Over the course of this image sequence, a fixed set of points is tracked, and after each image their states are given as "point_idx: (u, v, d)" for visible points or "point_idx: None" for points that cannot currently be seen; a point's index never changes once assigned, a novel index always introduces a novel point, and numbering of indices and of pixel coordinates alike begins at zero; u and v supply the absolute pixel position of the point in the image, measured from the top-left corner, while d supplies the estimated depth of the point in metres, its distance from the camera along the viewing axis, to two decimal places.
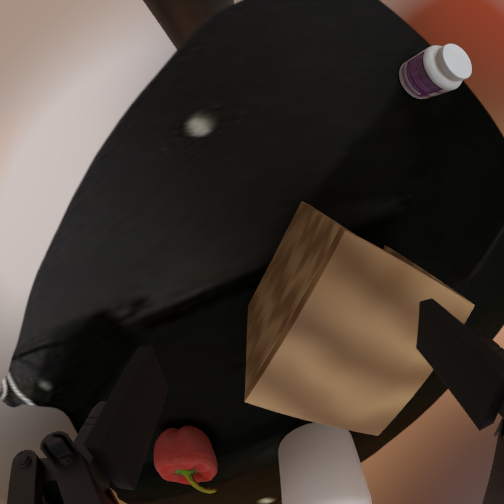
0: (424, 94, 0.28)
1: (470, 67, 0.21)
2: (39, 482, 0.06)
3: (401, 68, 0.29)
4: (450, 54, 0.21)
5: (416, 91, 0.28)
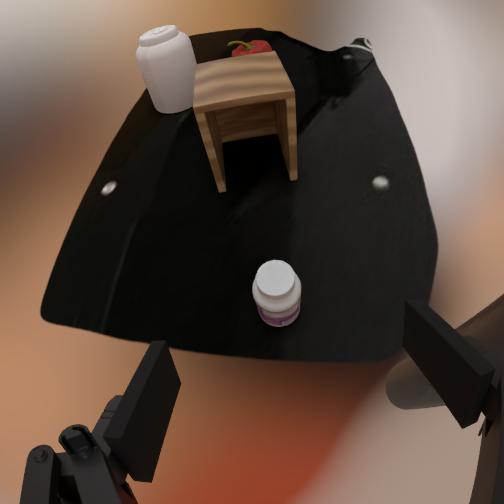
0: None
1: (259, 284, 0.31)
2: (55, 478, 0.06)
3: None
4: (285, 275, 0.31)
5: None
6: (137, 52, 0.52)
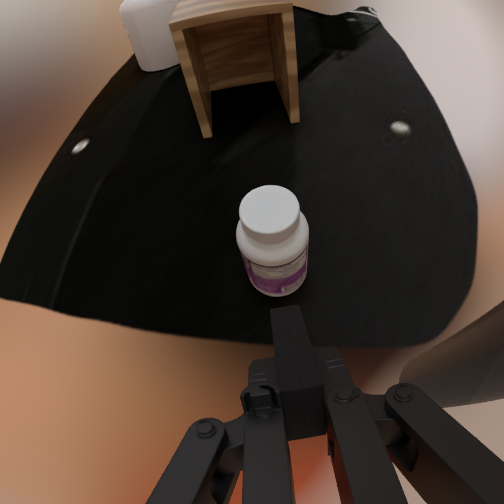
0: None
1: (244, 217, 0.20)
2: (216, 460, 0.07)
3: None
4: (285, 204, 0.20)
5: None
6: (121, 6, 0.41)
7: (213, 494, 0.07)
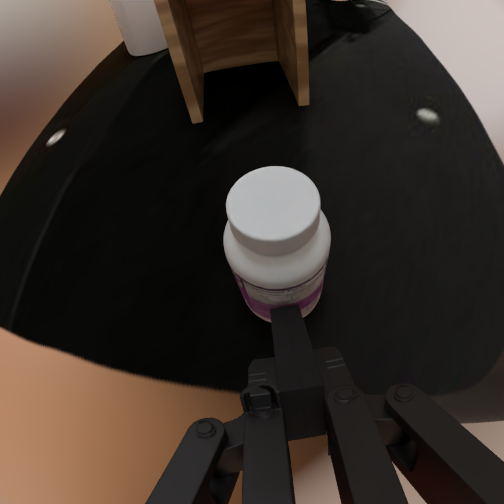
0: None
1: (233, 213, 0.13)
2: (216, 460, 0.07)
3: None
4: (297, 194, 0.13)
5: None
6: None
7: (213, 494, 0.07)
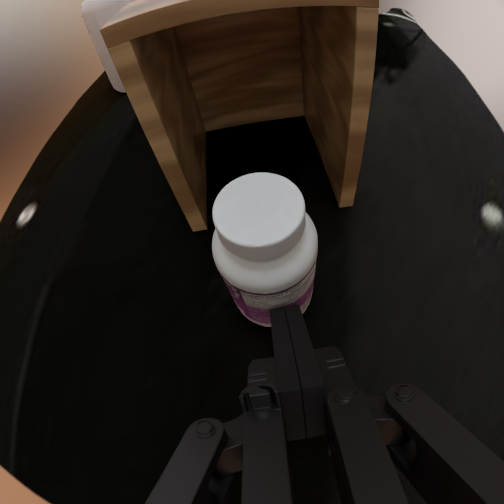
0: None
1: (223, 226, 0.13)
2: (215, 460, 0.07)
3: None
4: (281, 196, 0.13)
5: None
6: (82, 4, 0.27)
7: (212, 494, 0.07)
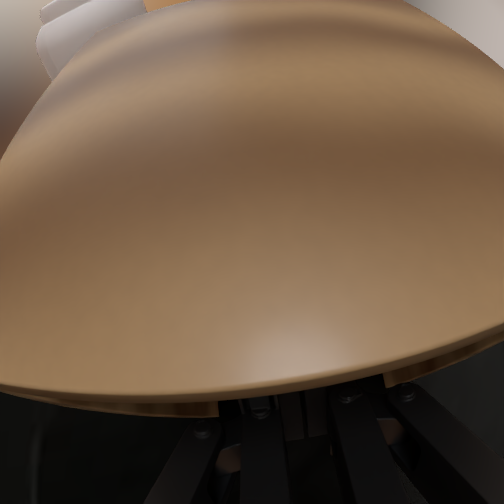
0: None
1: None
2: (213, 460, 0.07)
3: None
4: None
5: None
6: (37, 37, 0.20)
7: (211, 494, 0.07)
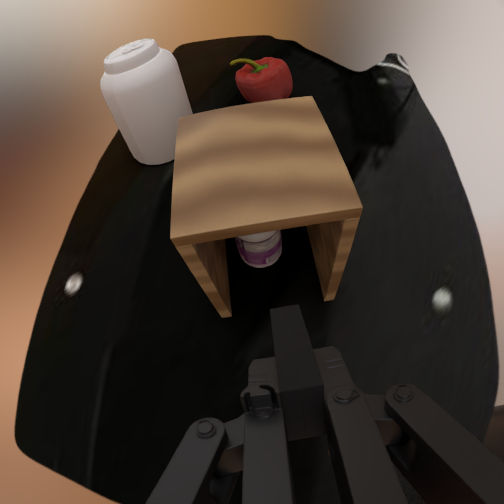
0: None
1: None
2: (216, 460, 0.07)
3: None
4: None
5: None
6: (101, 81, 0.37)
7: (213, 494, 0.07)
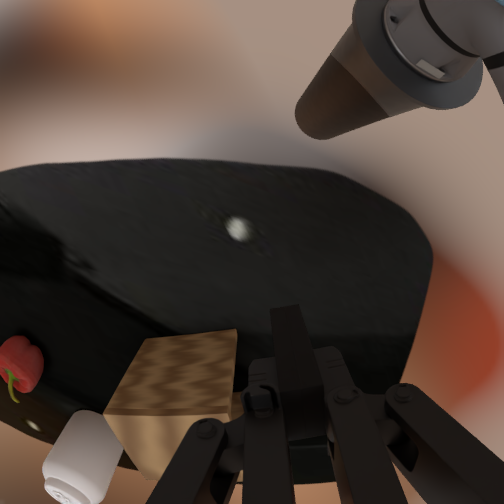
0: None
1: None
2: (216, 460, 0.07)
3: None
4: None
5: None
6: None
7: (213, 494, 0.07)
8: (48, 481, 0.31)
